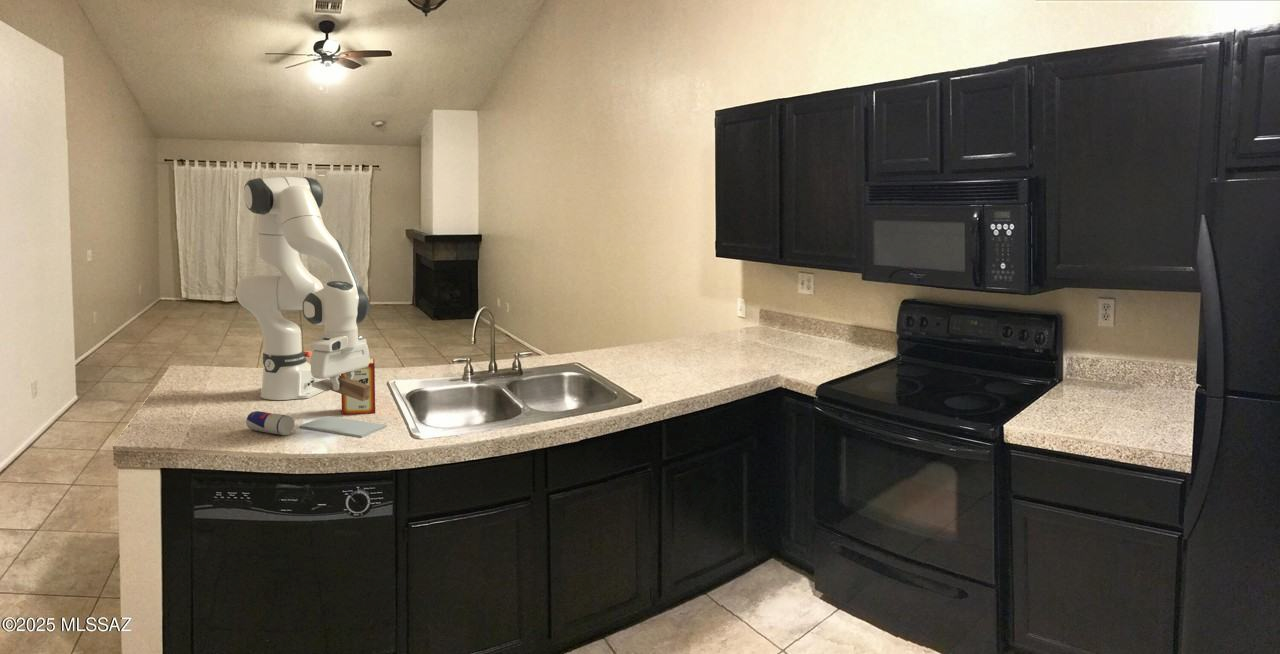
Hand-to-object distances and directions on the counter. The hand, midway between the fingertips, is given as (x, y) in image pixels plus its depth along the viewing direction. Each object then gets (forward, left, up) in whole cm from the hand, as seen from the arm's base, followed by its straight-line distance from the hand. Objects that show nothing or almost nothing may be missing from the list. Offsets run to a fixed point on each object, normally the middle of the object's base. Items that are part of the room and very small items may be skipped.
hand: (342, 388), depth 216 cm
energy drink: (+12, -8, -9) cm, 17 cm away
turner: (0, 0, -1) cm, 1 cm away
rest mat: (0, 0, -12) cm, 12 cm away
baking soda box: (-15, -7, -12) cm, 20 cm away
